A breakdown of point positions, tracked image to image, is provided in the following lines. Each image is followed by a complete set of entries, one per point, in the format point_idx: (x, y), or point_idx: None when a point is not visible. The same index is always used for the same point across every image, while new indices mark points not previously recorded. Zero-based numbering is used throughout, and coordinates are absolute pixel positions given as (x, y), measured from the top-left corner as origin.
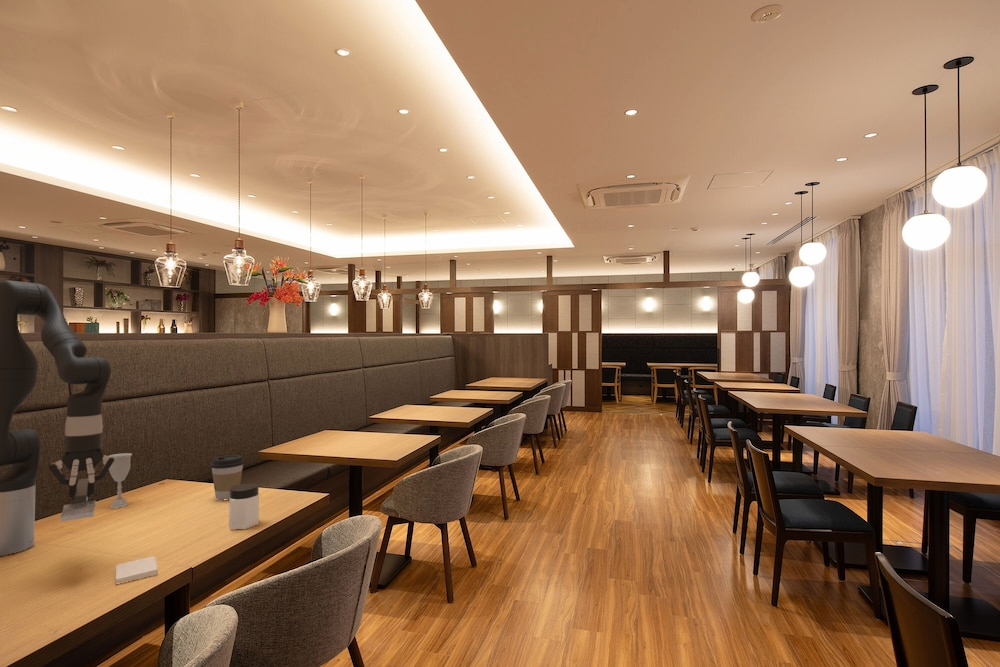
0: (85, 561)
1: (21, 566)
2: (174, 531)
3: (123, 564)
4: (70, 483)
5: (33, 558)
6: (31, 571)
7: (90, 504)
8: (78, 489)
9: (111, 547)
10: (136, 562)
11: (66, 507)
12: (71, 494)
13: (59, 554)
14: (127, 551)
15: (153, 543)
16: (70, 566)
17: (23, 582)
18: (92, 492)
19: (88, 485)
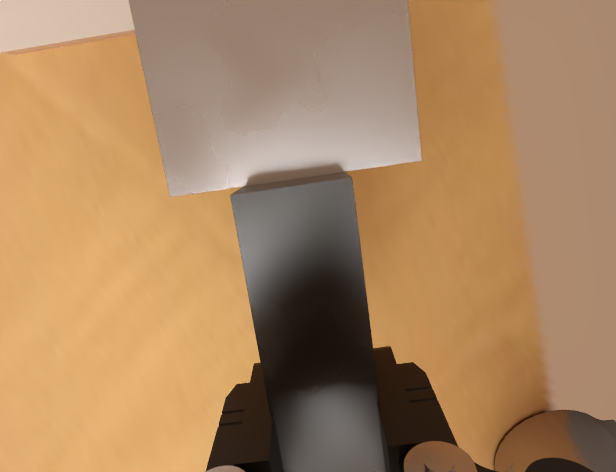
0: None
1: (496, 276)
2: (43, 381)
3: (111, 11)
4: (459, 463)
5: (473, 339)
6: (457, 203)
7: (183, 78)
8: (357, 417)
9: (237, 318)
10: (60, 6)
11: (388, 71)
12: (408, 382)
13: (399, 335)
14: (165, 240)
15: (87, 282)
16: None
17: (462, 93)
18: (240, 398)
19: (261, 443)
